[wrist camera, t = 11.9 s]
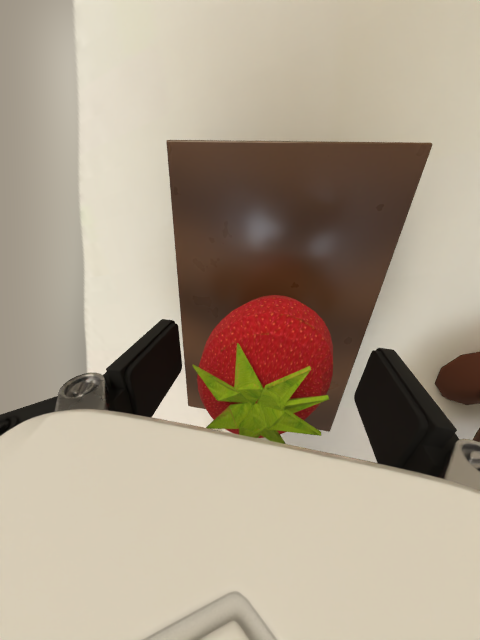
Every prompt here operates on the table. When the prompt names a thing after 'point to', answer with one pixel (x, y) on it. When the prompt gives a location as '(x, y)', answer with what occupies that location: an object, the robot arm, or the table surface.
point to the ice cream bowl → (461, 381)
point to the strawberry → (266, 369)
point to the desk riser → (288, 235)
